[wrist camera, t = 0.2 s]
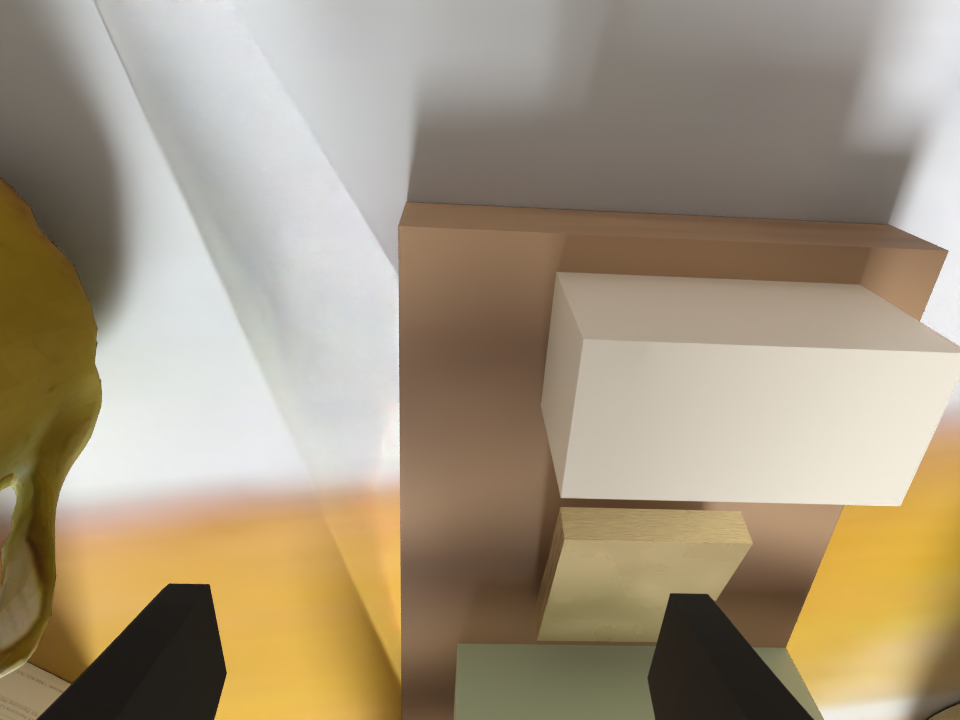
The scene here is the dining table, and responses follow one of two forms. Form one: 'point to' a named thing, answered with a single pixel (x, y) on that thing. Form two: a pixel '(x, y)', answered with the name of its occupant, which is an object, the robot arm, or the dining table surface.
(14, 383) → the mug
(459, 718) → the light green rectangular bar
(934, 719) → the plant pot
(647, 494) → the button white
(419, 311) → the panel
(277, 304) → the dining table surface
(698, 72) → the dining table surface
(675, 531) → the tan flat block
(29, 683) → the supplement box
